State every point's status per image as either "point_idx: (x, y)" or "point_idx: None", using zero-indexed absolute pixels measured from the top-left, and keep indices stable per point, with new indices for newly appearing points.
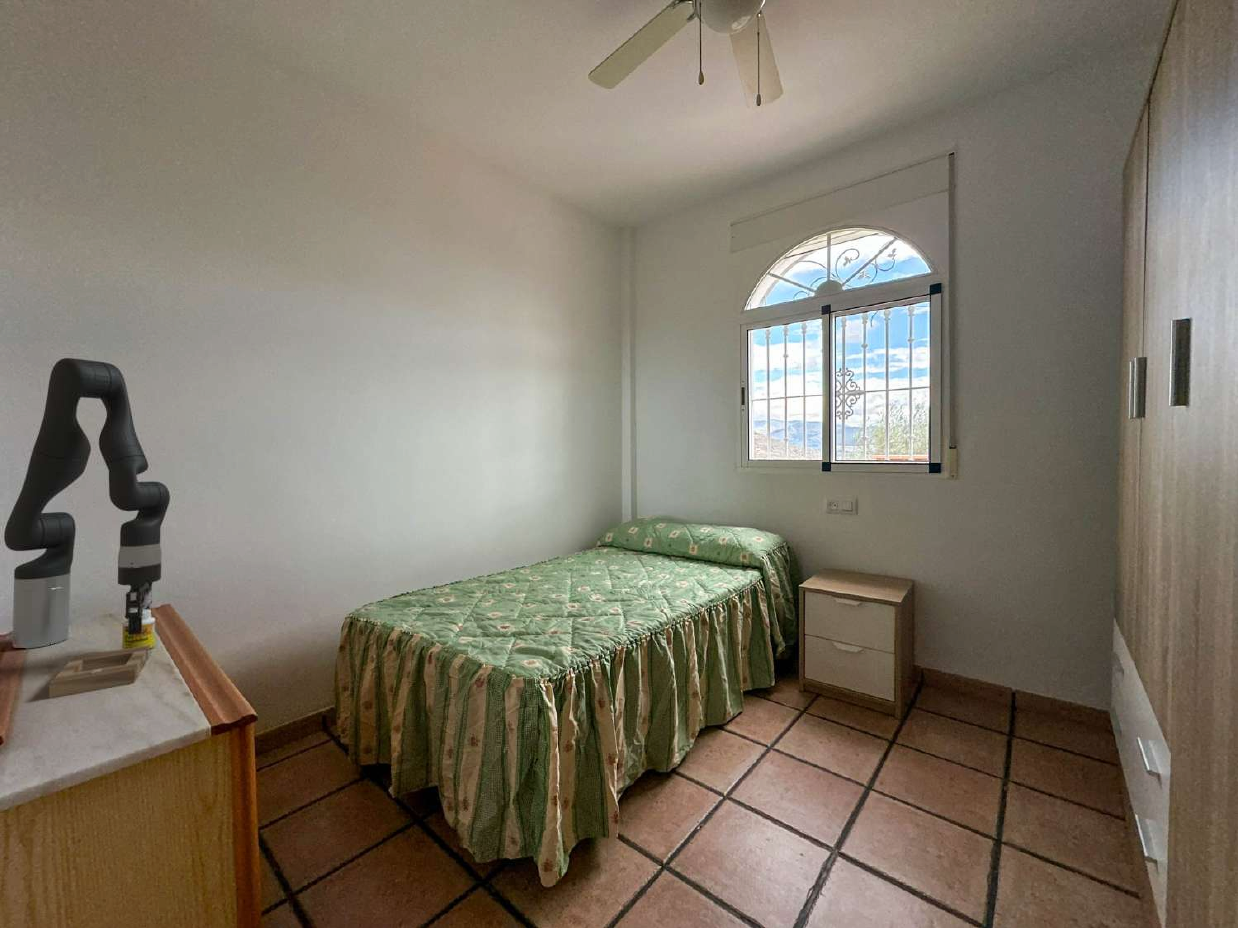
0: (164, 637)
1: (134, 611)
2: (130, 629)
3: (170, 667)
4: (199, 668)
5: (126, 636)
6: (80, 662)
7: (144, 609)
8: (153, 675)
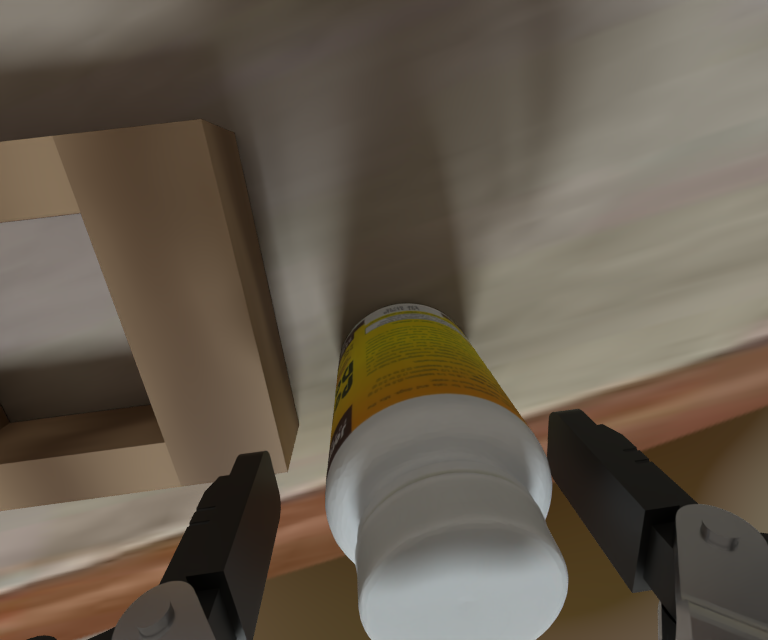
0: (632, 396)
1: (513, 554)
2: (201, 504)
3: (116, 536)
4: (71, 621)
5: (345, 389)
6: (34, 215)
7: (644, 563)
8: (25, 508)
